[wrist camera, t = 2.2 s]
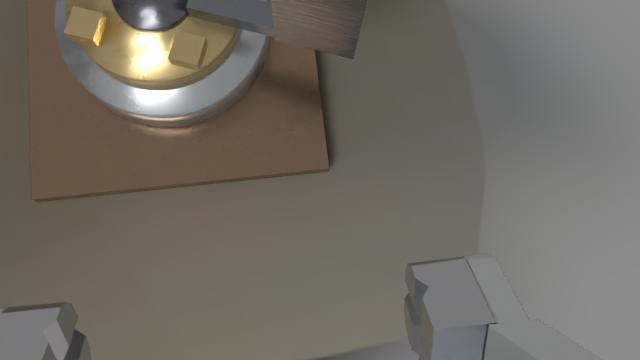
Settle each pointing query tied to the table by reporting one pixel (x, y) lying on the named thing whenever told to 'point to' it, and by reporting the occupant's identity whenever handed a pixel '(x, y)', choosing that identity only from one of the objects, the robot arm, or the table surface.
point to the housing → (167, 118)
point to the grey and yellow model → (200, 34)
